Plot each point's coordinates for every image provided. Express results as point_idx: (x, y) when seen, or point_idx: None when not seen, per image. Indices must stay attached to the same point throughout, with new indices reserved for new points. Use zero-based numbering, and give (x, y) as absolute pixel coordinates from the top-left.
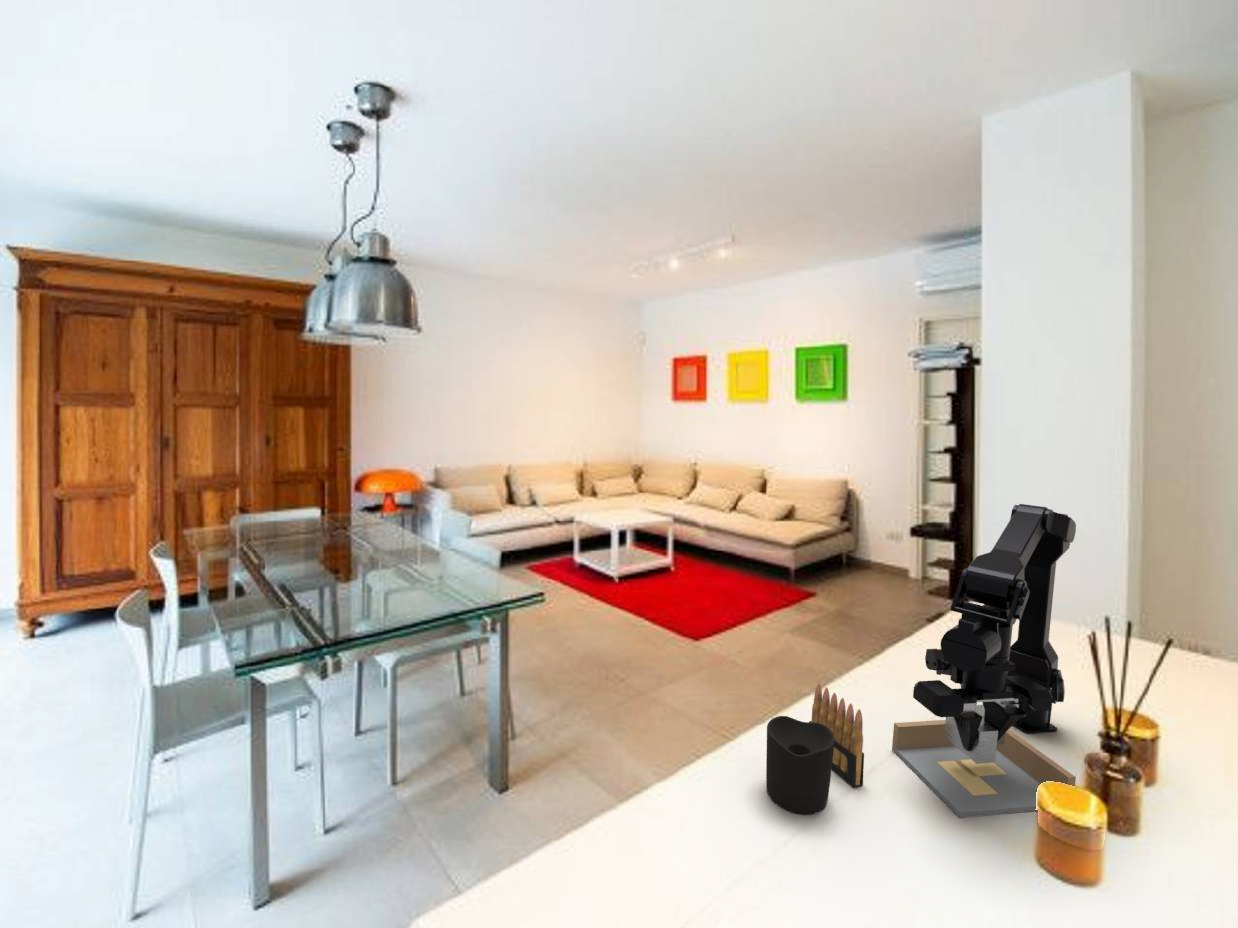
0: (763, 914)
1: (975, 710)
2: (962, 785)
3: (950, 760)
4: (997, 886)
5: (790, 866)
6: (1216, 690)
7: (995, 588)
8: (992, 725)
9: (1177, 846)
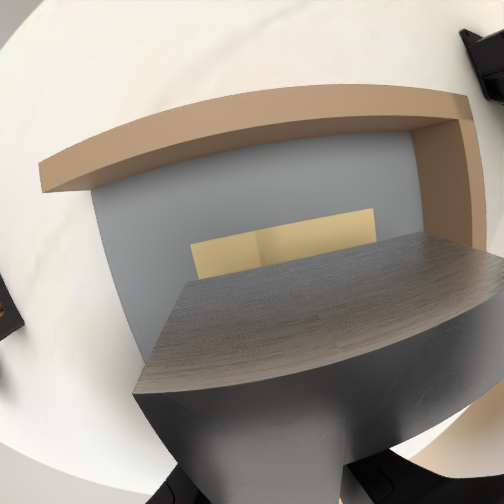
0: (10, 446)
1: (386, 409)
2: None
3: (243, 229)
4: None
5: (5, 424)
6: None
7: None
8: (349, 495)
9: None
